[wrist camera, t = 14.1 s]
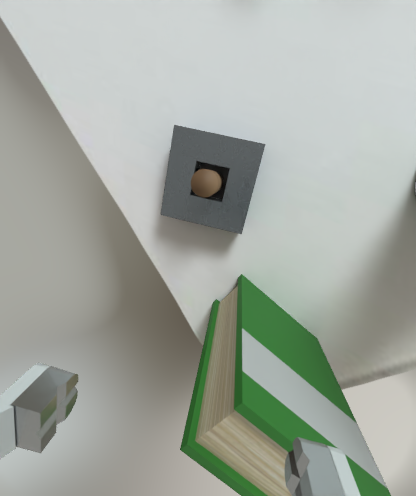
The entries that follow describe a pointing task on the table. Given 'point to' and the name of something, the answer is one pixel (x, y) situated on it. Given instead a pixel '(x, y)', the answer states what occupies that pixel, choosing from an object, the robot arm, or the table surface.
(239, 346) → the hardback book
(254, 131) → the table surface
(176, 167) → the socket
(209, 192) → the round peg
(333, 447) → the robot arm
